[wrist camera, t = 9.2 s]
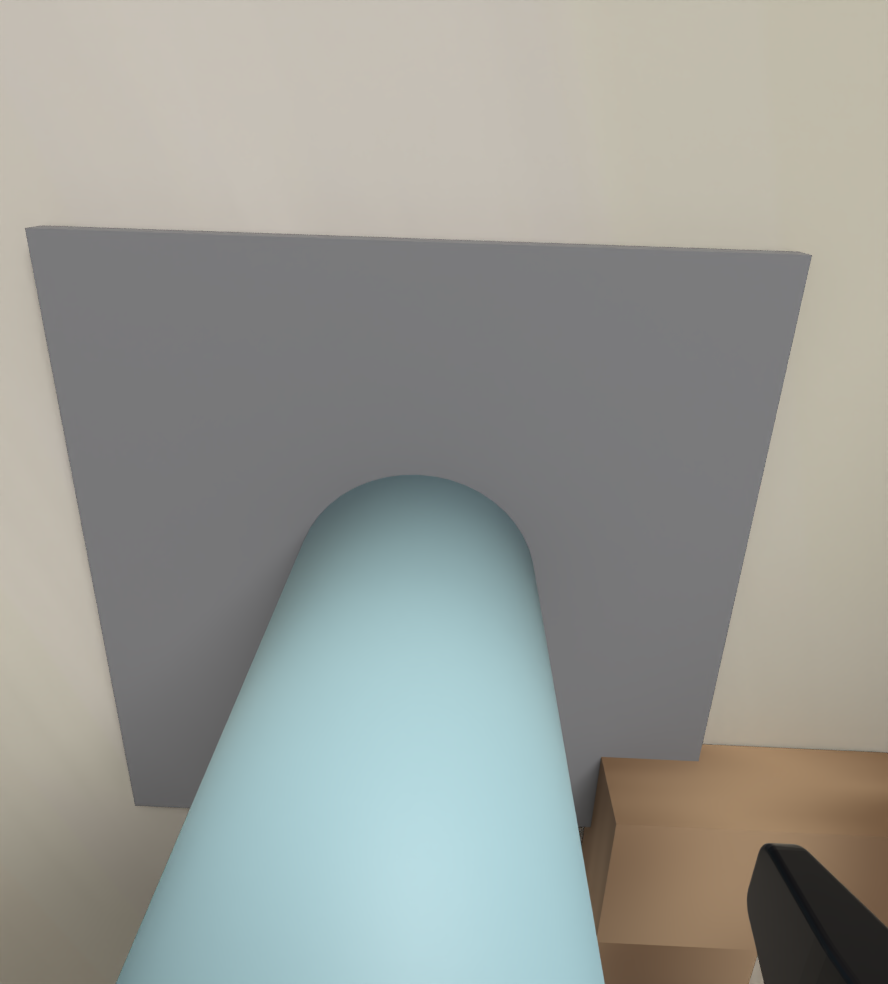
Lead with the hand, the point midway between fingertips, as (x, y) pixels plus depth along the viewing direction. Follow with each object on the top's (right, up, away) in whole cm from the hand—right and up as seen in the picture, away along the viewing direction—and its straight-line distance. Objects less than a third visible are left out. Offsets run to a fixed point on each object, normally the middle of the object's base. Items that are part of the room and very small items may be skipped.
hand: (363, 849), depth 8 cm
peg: (0, +2, +5) cm, 6 cm away
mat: (0, +3, +6) cm, 6 cm away
